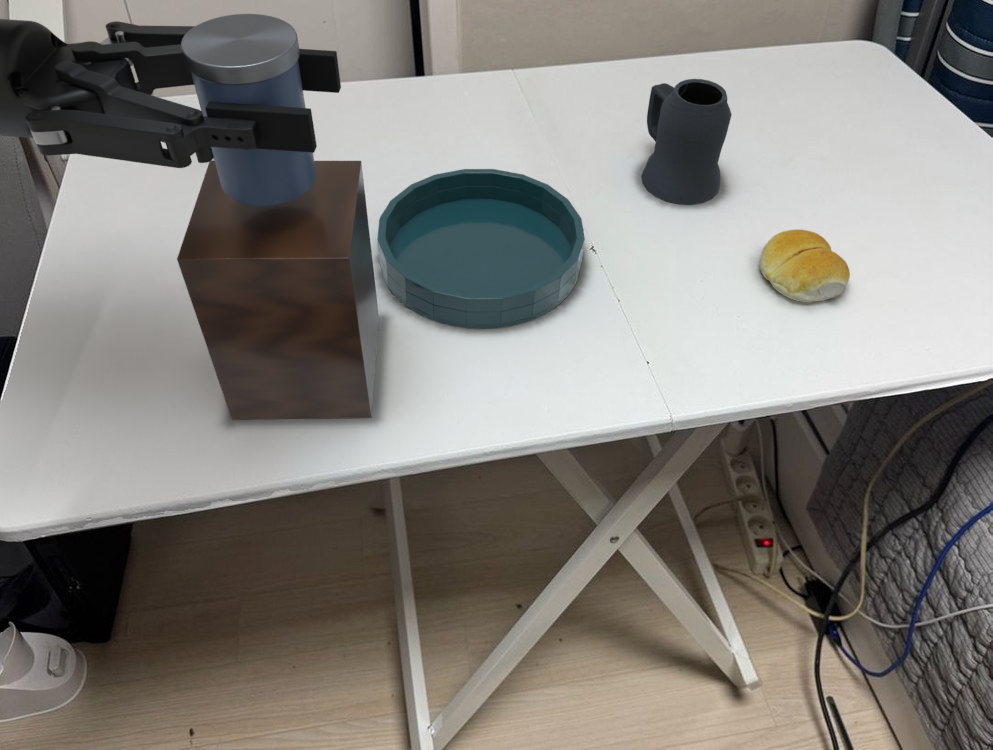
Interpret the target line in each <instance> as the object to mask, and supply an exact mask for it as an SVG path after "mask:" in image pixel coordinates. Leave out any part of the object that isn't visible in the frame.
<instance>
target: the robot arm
mask: <svg viewBox="0 0 993 750" xmlns="http://www.w3.org/2000/svg"><path fill="white" fill-rule="evenodd" d="M195 26H196V25H138V24H134V23H129V22H123V21H110V22H107V23H106V24H105V29H106V32H107V35H108V37H106V38H105V39H104V40H102V41H101V42H98V41H94V40H93V41H91V40H89V41H83V42H75V43H66V42H65V41H63V40H62V39H60V38H59V37H58V36H57V35H56V34H55V33H53V32H52V30H50V29H49V28H48V27H47V26H45V25H43V24H41V23H39V22H36V21H33V20H22V19H9V18H8V19H7V18H0V136H1V137H13V138H26V139H28V138H29V139H33V140H34V142H35V143H36V147H37V149H38V152H39V153H40V154H41V155H42V156H46V157H48V156H49V157H50V156H63V155H80V156H89V157H95V158H104V159H110V160H117V161H118V160H119V161H125V162H133V163H137V164H138V163H139V164H147V165H152V166H153V165H154V166H158V167H159V166H161V167H167V168H175V169H184V168H187V167H189V166H191V165H192V164H193V163H192V162H193V161H192V157H191V156H193V155H194V154H195V156H196V159H197V162H198V163H199V164H207V163H209V162H210V161H213V160H214V155H213V152H212V148H211V147H219V148H233V149H238V148H239V149H268V150H283V151H297V152H312V153H313V154H314V153H315V152H316V149H317V146H318V144H317V139H316V132H315V125H314V119H313V112H312V108H308V107H306V108H295V107H280V106H265V105H251V104H236V103H221V102H208V104H207V106H206V107H205V109H206V113H207V117H205V116H203V114H202V112H201V109H198V108H196V107H192V106H188V105H185V104H182V103H178V102H175V101H171V100H168V99H165V98H162V97H158V96H154V95H153V93H154V91H155V90H158V89H167V88H177V87H185V86H195V85H194V82H193V78H192V74H191V72H190V71H189V70H188V69H187V67H186V64H185V60H184V57H183V53H182V49H181V42H182V39H183V37H184V35H185V34H186V33H187V32H188V31H189V30H191V29H192V28H193V27H195ZM299 50H300V55H299V58H298V63H299V70H300V76H301V82H302V88H303V92H318V93H336V94H339V93H340V91H341V88H342V84H341V75H340V69H339V68H340V67H339V60H338V53H337V52H338V51H337V50H327V49H326V50H325V49H310V48H299ZM132 67H133V68H132ZM133 69H134V71H135V75H136V78H137V81H136V79H135V76H134V73H133ZM162 143H164V144H165V146H166V148H164V147H163V145H162Z"/></svg>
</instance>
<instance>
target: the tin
mask: <svg viewBox="0 0 993 750" xmlns="http://www.w3.org/2000/svg"><path fill="white" fill-rule="evenodd" d="M194 26H195V27H193V28H192V29H191V30H189V31H188V32H187V33H186V34H185V35H184V37H183V39H182V42H181V49H182V53H183V57H184V60H185V64H186V67H187V69H188V70H189V71H190V72H191V74H192V78H193V82H194V85H193V86H194V88H195V92H196V97H197V101H198V103H199V107H200V110H201V112H202V114H203V116H205V117H207V113H206V109H205V107H206V106H207V104H208V102H221V103H236V104H251V105H265V106H280V107H295V108H307V107H306V101H305V95H304V91H303V88H302V82H301V76H300V70H299V63H298V58H299V55H300V50H299V49H300V44H299V39H298V38H299V37H298V33H297V31H296V29H295V28H294V26H292V25H291V24H290V23H288V22H287V21H285V20H283V19H281V18H279V17H275V16H271V15H267V14H260V13H236V14H235V13H234V14H229V15H228V14H227V15H223V16H218V17H214V18H210V19H208V20H205V21H203V22H201V23H199V24H196V25H194ZM211 148H212V152H213V155H214V158H213V161H215V164H216V168H217V172H218V176H219V180H220V183H221V187H222V189H223V191H224V192H225V194H226V195H227V196H229V197H230V198H232V199H233V200H235V201H237V202H240V203H243V204H248V205H255V206H269V205H276V204H281V203H285V202H288V201H291V200H293V199H295V198H298V197H299V196H301V195H303V194H304V193H305V192H307V191H308V190H309V189H310V188H311V186H312V185H313V184H314V182H315V179H316V169H315V162H314V161H315V157H314V153H312V152H297V151H283V150H268V149H239V148H238V149H233V148H219V147H211Z"/></svg>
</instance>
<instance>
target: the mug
mask: <svg viewBox="0 0 993 750" xmlns="http://www.w3.org/2000/svg"><path fill="white" fill-rule="evenodd" d="M732 115H733V114H732V111H731V108H730V105H729V103H728V94H727V91H726V89H725V88H724V87H723V86H721V85H720V84H719V83H717V82H714V81H712V80H708V79H702V78H689V79H684V80H682V81H678V82H677V84H676V85H675V86H672V85H670V84H669V83H666V82H664V83H663V82H662V83H659V84H655V85H653V86H651V90H650V94H649V100H648V106H647V114H646V126H647V131H648V134H649V136H650V137H651V138H652V139H653V141H655V144H654V149H653V152H652V154H651V155H649V157H648V158H647V159H648V160H647V162H646V164H645V166H644V168H643V170H642V173H641V176H640V177H641V183H642V185H643V186H644V188H645V189H646V190H647V192H649V193H650V194H651V195H653V196H654V197H656V198H658V199H660V200H663V201H664V202H668V203H671V204H676V205H687V206H688V205H690V206H691V205H699V204H704V203H705V202H708V201H710V200H713V198H714V197H715V196H717V195H718V194H719V191H720V188H721V170H720V167H719V166H720V165H719V160H720V156H721V152H722V149H723V146H724V143H725V141H726V138H727V135H728V131H729V126H730V122H731V119H732Z"/></svg>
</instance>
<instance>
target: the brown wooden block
mask: <svg viewBox="0 0 993 750" xmlns="http://www.w3.org/2000/svg"><path fill="white" fill-rule="evenodd" d="M314 162H315V169H316V179H315V182H314V184H313V185H312V186H311V188H310V189H309V190H308V191H307V192H305V193H304V194H303V195H301V196H299V197H298V198H295V199H293V200H291V201H288V202H285V203H281V204H276V205H269V206H255V205H248V204H243V203H240V202H237V201H235V200H233V199H232V198H230V197H229V196H227V195H226V194H225V192H224V191H223V189H222V187H221V183H220V180H219V176H218V172H217V168H216V164H215V161H214V160H211V161H210V162H208V165H207V168H206V171H205V173H204V176H203V180H202V183H201V186H200V189H199V192H198V195H197V198H196V200H195V204H194V206H193V208H192V209H193V210H192V213H191V216H190V219H189V221H188V225H187V228H186V231H185V233H184V235H183V236H184V237H183V239H182V243H181V245H180V247H179V248H180V249H179V252H178V255H177V257H176V261H177V263H178V267H179V269H180V272H181V275H182V278H183V281H184V284H185V288H186V289H187V293H188V295H189V298H190V302H191V304H192V308H193V310H194V313H195V316H196V320H197V323H198V325H199V328H200V331H201V334H202V337H203V340H204V342H205V346H206V349H207V352H208V354H209V358H210V360H211V364H212V366H213V369H214V372H215V375H216V379H217V380H218V383H219V387H220V390H221V392H222V396H223V398H224V401H225V404H226V408H227V410H228V413H229V417H230V418H231V420H234V421H235V420H295V419H297V420H298V419H299V420H300V419H301V420H302V419H303V420H304V419H305V420H306V419H307V420H308V419H309V420H311V419H371V418H372V416H373V404H374V391H375V381H376V380H375V379H376V369H377V368H376V367H377V356H378V354H377V353H378V343H379V329H380V315H379V314H380V313H379V306H378V296H377V288H376V280H375V279H376V278H375V271H374V270H375V269H374V261H373V253H372V244H371V235H370V226H369V217H368V209H367V207H368V206H367V199H366V198H367V197H366V191H365V182H364V181H365V180H364V174H363V173H364V172H363V163H362V160H314Z"/></svg>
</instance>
